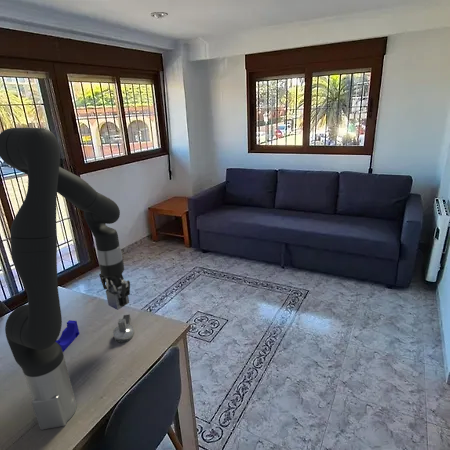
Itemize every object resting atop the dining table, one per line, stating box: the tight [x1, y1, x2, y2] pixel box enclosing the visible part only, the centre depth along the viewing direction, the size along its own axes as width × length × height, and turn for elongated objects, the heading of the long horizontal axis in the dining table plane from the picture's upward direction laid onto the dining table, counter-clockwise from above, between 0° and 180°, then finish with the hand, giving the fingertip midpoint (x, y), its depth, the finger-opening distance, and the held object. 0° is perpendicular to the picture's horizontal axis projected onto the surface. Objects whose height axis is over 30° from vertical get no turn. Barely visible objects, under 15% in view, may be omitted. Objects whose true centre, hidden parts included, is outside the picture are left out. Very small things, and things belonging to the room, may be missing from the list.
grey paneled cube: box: [105, 286, 130, 311], centre depth 110 cm, size 5×5×6 cm
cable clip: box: [55, 319, 80, 353], centre depth 111 cm, size 12×4×6 cm, turn 171°
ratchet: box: [112, 314, 135, 343], centre depth 117 cm, size 14×7×6 cm, turn 10°
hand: (118, 302), depth 111 cm, fingers closed on grey paneled cube, 5 cm apart
